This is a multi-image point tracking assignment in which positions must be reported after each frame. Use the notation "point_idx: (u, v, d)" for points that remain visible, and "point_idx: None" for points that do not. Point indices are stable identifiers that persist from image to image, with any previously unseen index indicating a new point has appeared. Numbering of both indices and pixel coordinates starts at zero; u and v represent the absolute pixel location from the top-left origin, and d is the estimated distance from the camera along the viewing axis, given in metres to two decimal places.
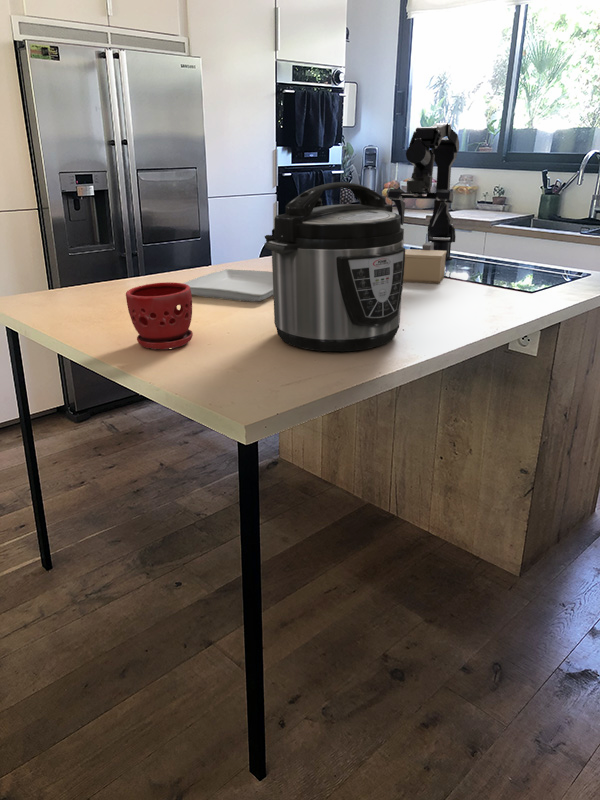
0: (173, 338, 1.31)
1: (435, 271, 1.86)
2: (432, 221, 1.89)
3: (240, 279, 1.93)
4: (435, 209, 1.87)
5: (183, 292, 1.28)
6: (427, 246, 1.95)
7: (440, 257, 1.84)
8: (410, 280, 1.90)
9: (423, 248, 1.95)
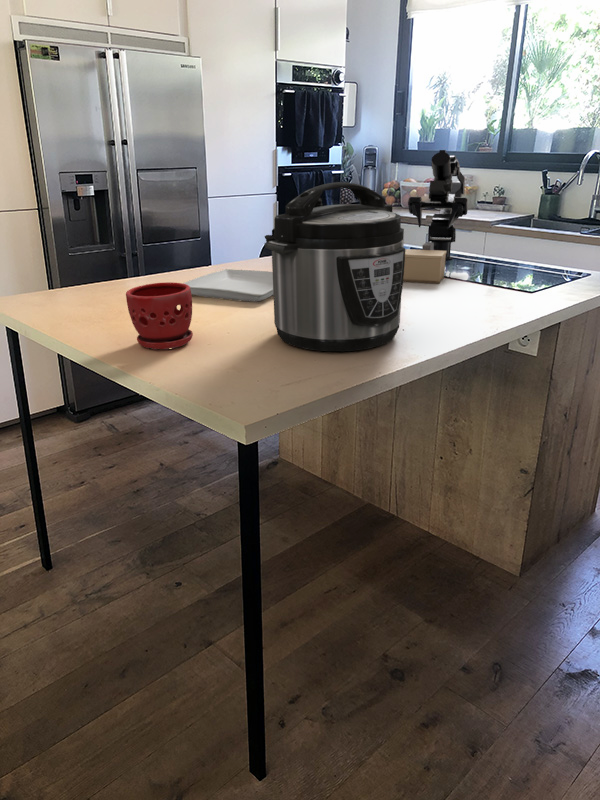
0: (173, 338, 1.31)
1: (435, 271, 1.86)
2: (449, 222, 2.02)
3: (240, 279, 1.93)
4: (452, 212, 2.03)
5: (183, 292, 1.28)
6: (427, 246, 1.95)
7: (440, 257, 1.84)
8: (410, 280, 1.90)
9: (423, 248, 1.95)
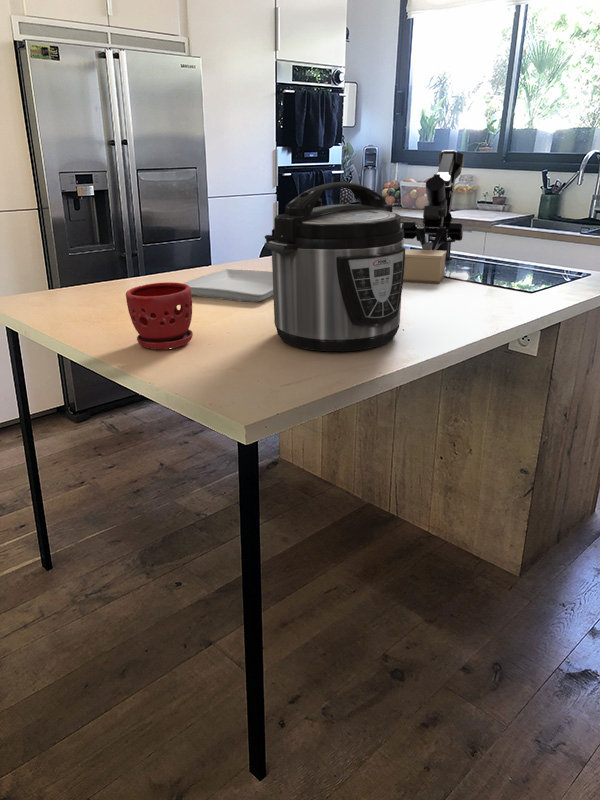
0: (173, 338, 1.31)
1: (435, 271, 1.86)
2: (433, 248, 1.98)
3: (240, 279, 1.93)
4: (437, 238, 1.99)
5: (183, 292, 1.28)
6: (427, 246, 1.95)
7: (440, 257, 1.84)
8: (410, 280, 1.90)
9: (423, 248, 1.95)
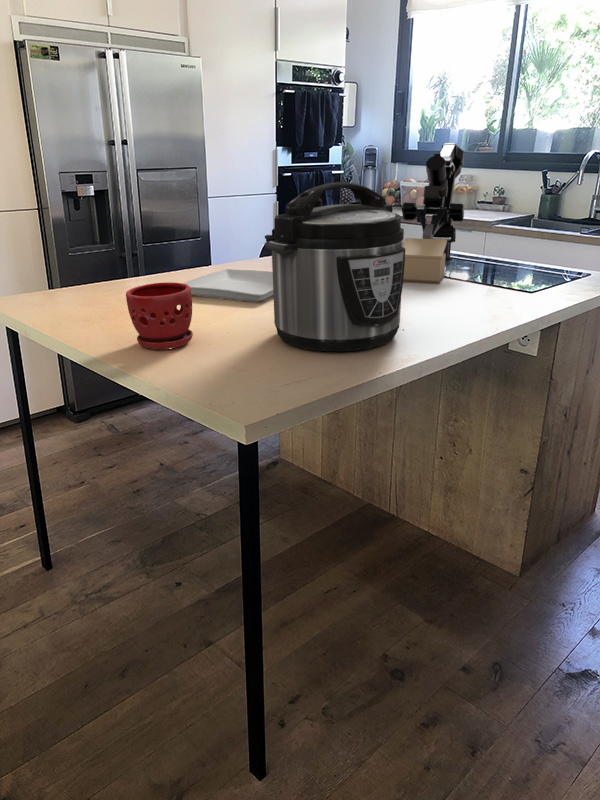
0: (173, 338, 1.31)
1: (435, 271, 1.86)
2: (434, 229, 1.95)
3: (240, 279, 1.93)
4: (437, 219, 1.95)
5: (183, 292, 1.28)
6: (427, 235, 1.92)
7: (440, 257, 1.84)
8: (410, 280, 1.90)
9: (423, 237, 1.93)
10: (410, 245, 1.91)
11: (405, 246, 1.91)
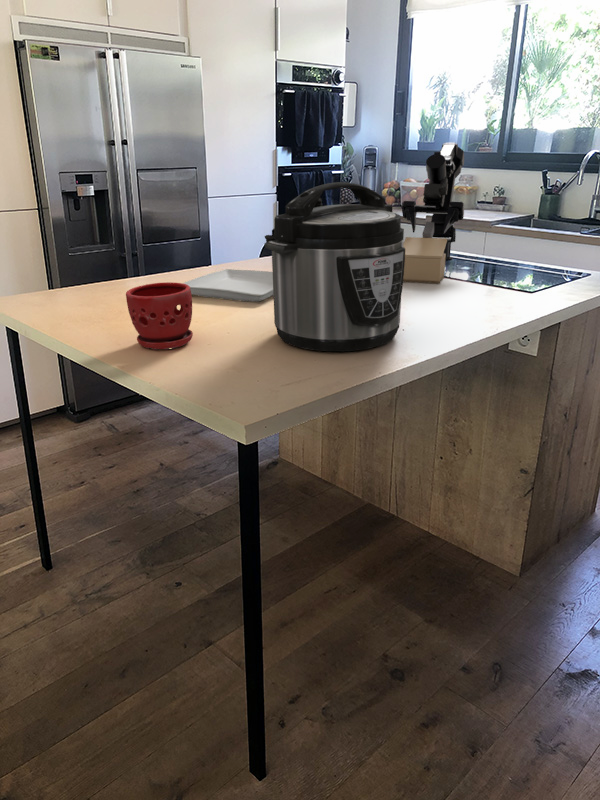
0: (173, 338, 1.31)
1: (435, 271, 1.86)
2: (444, 227, 1.93)
3: (240, 279, 1.93)
4: (448, 217, 1.94)
5: (183, 292, 1.28)
6: (427, 234, 1.92)
7: (440, 257, 1.84)
8: (410, 280, 1.90)
9: (423, 236, 1.93)
10: (410, 244, 1.91)
11: (405, 245, 1.91)
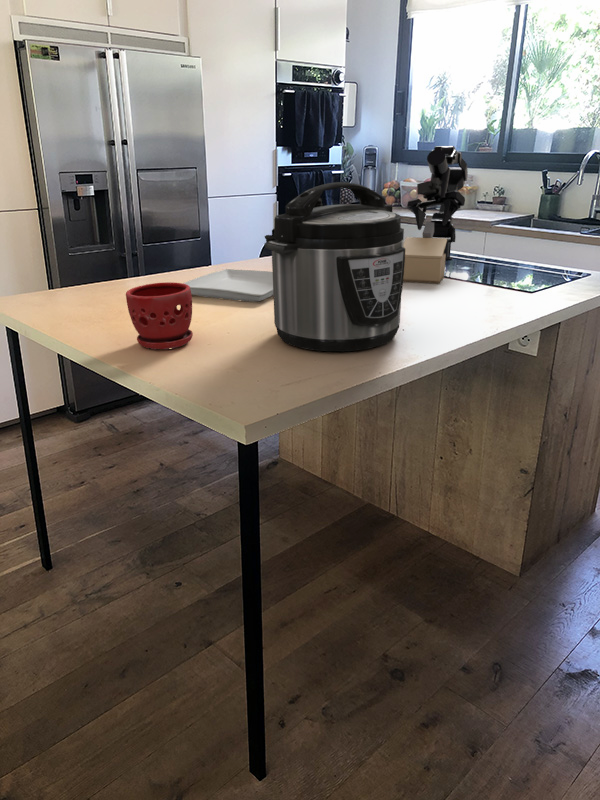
0: (173, 338, 1.31)
1: (435, 271, 1.86)
2: (443, 220, 2.01)
3: (240, 279, 1.93)
4: (445, 209, 2.01)
5: (183, 292, 1.28)
6: (427, 234, 1.92)
7: (440, 257, 1.84)
8: (410, 280, 1.90)
9: (423, 236, 1.93)
10: (410, 244, 1.91)
11: (405, 245, 1.91)
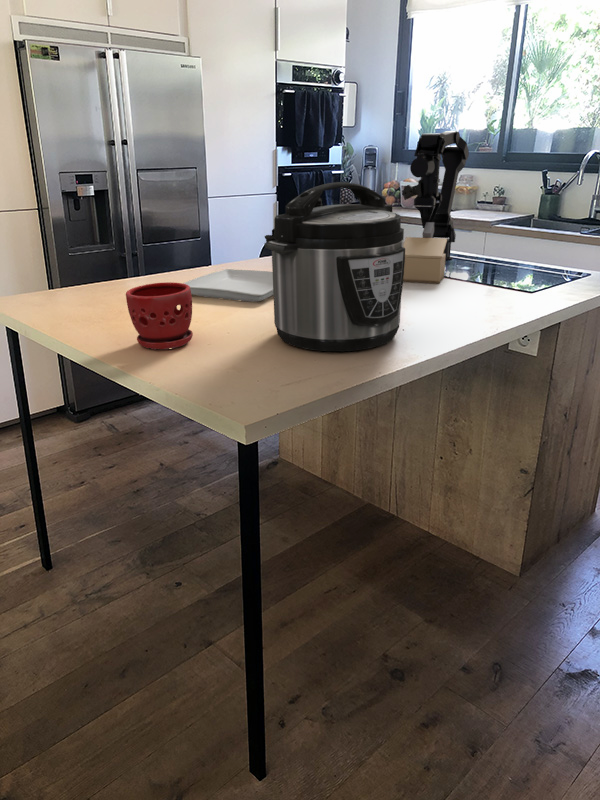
0: (173, 338, 1.31)
1: (435, 271, 1.86)
2: (422, 224, 2.04)
3: (240, 279, 1.93)
4: None
5: (183, 292, 1.28)
6: (427, 234, 1.92)
7: (440, 257, 1.84)
8: (410, 280, 1.90)
9: (423, 236, 1.93)
10: (410, 244, 1.91)
11: (405, 245, 1.91)
